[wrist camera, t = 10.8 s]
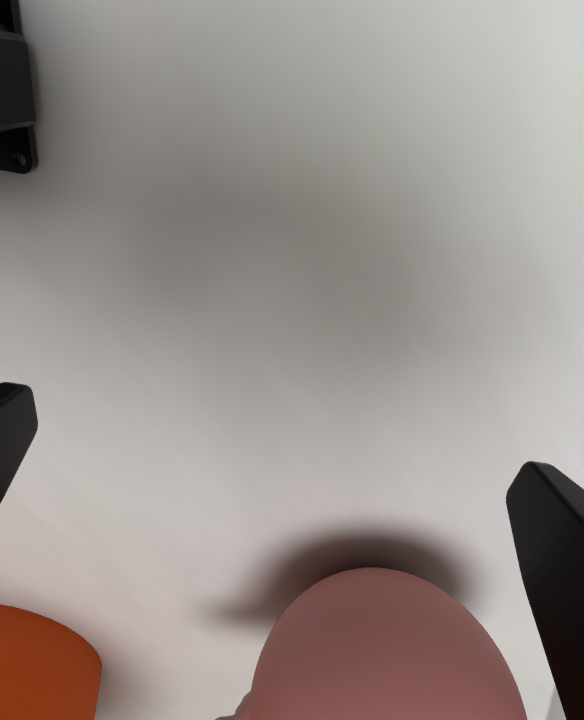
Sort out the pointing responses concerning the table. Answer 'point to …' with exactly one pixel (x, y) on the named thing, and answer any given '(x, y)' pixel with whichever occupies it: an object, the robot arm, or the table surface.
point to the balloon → (379, 656)
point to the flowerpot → (45, 669)
